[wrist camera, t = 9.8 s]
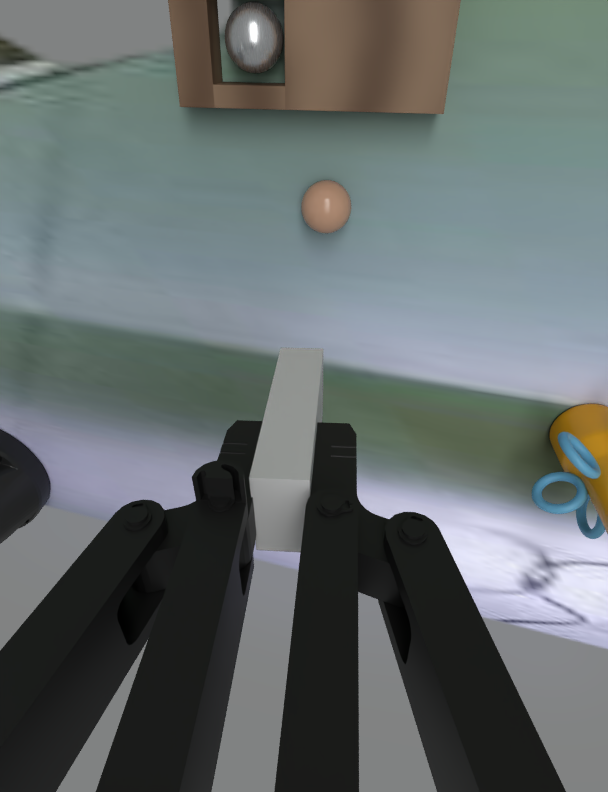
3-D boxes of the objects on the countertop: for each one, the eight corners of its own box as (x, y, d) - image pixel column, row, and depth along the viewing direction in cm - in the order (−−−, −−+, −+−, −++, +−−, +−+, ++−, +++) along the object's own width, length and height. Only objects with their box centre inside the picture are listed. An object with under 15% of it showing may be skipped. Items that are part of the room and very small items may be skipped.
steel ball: (223, 75, 30) (282, 76, 30) (218, 0, 28) (281, 1, 28) (231, 70, 33) (285, 71, 33) (226, 2, 31) (284, 3, 31)
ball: (303, 224, 38) (298, 238, 35) (304, 174, 36) (298, 185, 33) (350, 225, 38) (348, 241, 35) (353, 176, 36) (352, 187, 33)
